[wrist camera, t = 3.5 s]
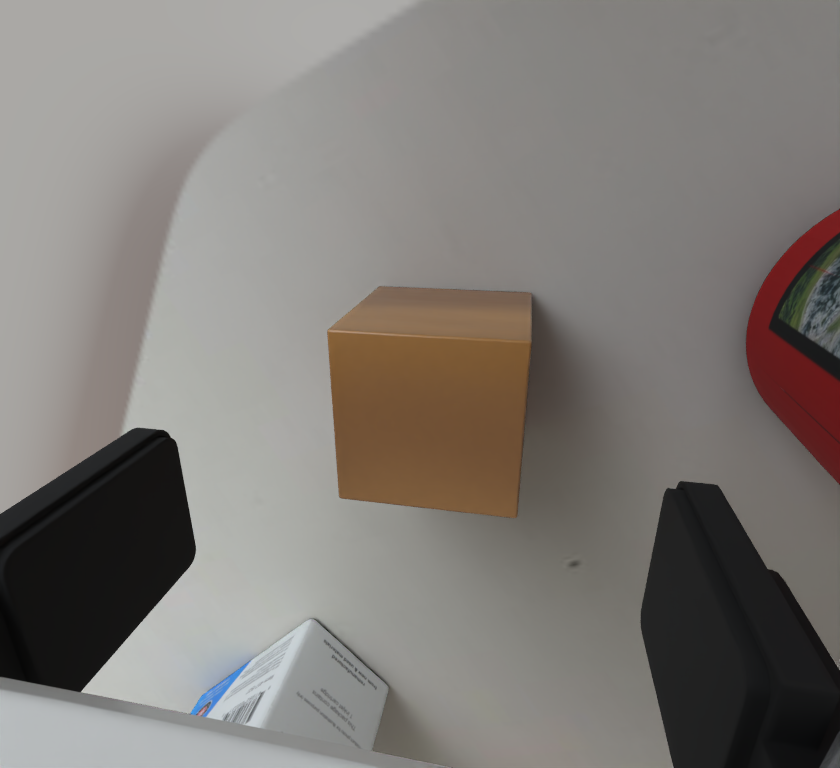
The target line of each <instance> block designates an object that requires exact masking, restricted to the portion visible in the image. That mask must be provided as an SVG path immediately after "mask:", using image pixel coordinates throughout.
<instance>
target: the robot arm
mask: <svg viewBox="0 0 840 768" xmlns="http://www.w3.org/2000/svg"><path fill="white" fill-rule="evenodd" d="M195 552H196V545H195V540H194V534H193V529H192V523H191V518H190V512H189V507H188V502H187V496H186V491H185V485H184V480H183V474H182V469H181V463H180V458H179V453H178V447H177V444H176V442H175V440H174V439H172V438H171V437H170V435H169V434H168V433H167V432H166V431H164V430H156V429H146V428H135V429H132V430H130V431H129V432H127V433H126V434H124V435H123V436H121V437H120V438H118V439H117V440H115V441H113V442H112V443H110V444H109V445H107V446H106V447H104V448H102V449H101V450H99V451H98V452H96V453H95V454H93V455H92V456H90V457H89V458H87V459H85V460H84V461H82V462H81V463H79V464H78V465H76V466H74V467H73V468H71V469H70V470H68V471H67V472H65V473H64V474H62V475H60V476H59V477H57V478H56V479H54V480H53V481H51V482H50V483H48V484H47V485H45V486H43V487H42V488H40V489H39V490H37V491H36V492H34V493H32V494H31V495H29V496H28V497H26V498H25V499H23V500H22V501H20V502H19V503H17V504H15V505H14V506H12V507H11V508H9V509H8V510H6V511H4V512H3V513H1V514H0V768H452V767H447V766H442V765H437V764H432V763H428V762H423V761H418V760H413V759H408V758H403V757H399V756H394V755H389V754H384V753H379V752H375V751H370V750H365V749H360V748H355V747H350V746H346V745H341V744H336V743H331V742H326V741H321V740H316V739H312V738H307V737H302V736H297V735H292V734H287V733H282V732H277V731H272V730H267V729H262V728H257V727H252V726H247V725H242V724H237V723H232V722H227V721H222V720H217V719H212V718H207V717H202V716H197V715H192V714H187V713H182V712H177V711H172V710H167V709H162V708H157V707H152V706H147V705H142V704H137V703H132V702H127V701H122V700H117V699H112V698H107V697H102V696H97V695H91V694H86V693H81V691H82V690H83V688H84V687H85V686H86V685H87V684H88V683H89V682H90V680H91V679H92V678H93V677H94V676H95V675H96V673H97V672H98V671H99V670H100V669H101V668H102V667H103V665H104V664H105V663H106V662H107V661H108V660H109V659H110V657H111V656H112V655H113V654H114V653H115V652H116V651H117V649H118V648H119V647H120V646H121V645H122V644H123V642H124V641H125V640H126V639H127V638H128V637H129V636H130V634H131V633H132V632H133V631H134V630H135V629H136V628H137V626H138V625H139V624H140V623H141V622H142V621H143V619H144V618H145V617H146V616H147V615H148V614H149V613H150V611H151V610H152V609H153V608H154V607H155V606H156V605H157V603H158V602H159V601H160V600H161V599H162V598H163V596H164V595H165V594H166V593H167V592H168V591H169V590H170V588H171V587H172V586H173V585H174V584H175V583H176V582H177V580H178V579H179V578H180V577H181V576H182V575H183V574H184V572H185V571H186V570H187V569H188V568H189V567H190V565H191V564H192V562H193V560H194V557H195ZM641 630H642V635H643V639H644V644H645V648H646V652H647V656H648V661H649V665H650V669H651V673H652V678H653V682H654V686H655V690H656V695H657V699H658V703H659V707H660V712H661V716H662V720H663V724H664V729H665V733H666V737H667V741H668V746H669V750H670V754H671V758H672V763H673V767H674V768H840V670H839V669H838V667H837V666H836V664H835V662H834V661H833V659H832V657H831V656H830V654H829V653H828V651H827V649H826V648H825V646H824V644H823V643H822V641H821V640H820V638H819V636H818V635H817V633H816V631H815V630H814V628H813V626H812V625H811V623H810V622H809V620H808V618H807V617H806V615H805V613H804V612H803V610H802V609H801V607H800V605H799V604H798V602H797V600H796V599H795V597H794V595H793V594H792V592H791V591H790V589H789V587H788V586H787V584H786V582H785V581H784V579H783V578H782V577H781V576H780V575H779V573H777V572H775V571H773V570H769V569H767V567H766V566H765V564H764V562H763V561H762V559H761V557H760V555H759V554H758V552H757V550H756V549H755V547H754V545H753V544H752V542H751V540H750V538H749V537H748V535H747V533H746V532H745V530H744V528H743V527H742V525H741V523H740V521H739V520H738V518H737V516H736V515H735V513H734V511H733V510H732V508H731V506H730V504H729V503H728V501H727V499H726V498H725V496H724V494H723V493H722V491H721V489H720V488H719V487H718V485H714V484H704V483H694V482H684V481H680V482H679V483H678V485H677V487H676V489H670V488H667V489H666V491H665V493H664V497H663V502H662V507H661V512H660V517H659V522H658V527H657V532H656V537H655V542H654V547H653V552H652V558H651V563H650V568H649V573H648V578H647V583H646V588H645V593H644V598H643V603H642V608H641Z"/></svg>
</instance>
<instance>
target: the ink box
mask: <svg viewBox="0 0 840 768" xmlns="http://www.w3.org/2000/svg"><path fill="white" fill-rule="evenodd" d="M388 690H389V688H388V686H387V685H386V683H384V682H383V681H382V680H381V679H380V678H379V677H377V676H376V675H375V674H374V673H373V672H372V671H371V670H370V669H369V668H367V667H366V666H365V665H364V664H363V663H362V662H361V661H360V660H359V659H358V658H357V657H355V656H354V655H353V654H352V653H351V652H350V651H349V650H348V649H347V648H346V647H344V646H343V645H342V644H341V643H340V642H339V641H338V640H337V639H336V638H334V637H333V636H332V635H331V634H330V633H329V632H328V631H327V630H325V629H324V628H323V627H322V626H321V625H320V624H319V623H318V622H317V621H316V620H314V619H309V620H307V621H305V622H304V623H303V624H301V625H300V626H298V627H297V628H295V629H294V630H293V631H291V632H290V633H289V634H287V635H286V636H285V637H283V638H282V639H280V640H279V641H278V642H276V643H275V644H273V645H272V646H271V647H269V648H268V649H266V650H265V651H264V652H262V653H261V654H259V655H258V656H256V657H255V658H254V659H252V660H251V661H249V662H248V663H247V664H245V665H244V666H242V667H241V668H240V669H238V670H237V671H236V672H234V673H233V674H231V675H230V676H229V677H227V678H226V679H224V680H223V681H222V682H220V683H219V684H217V685H216V686H215V687H213V688H212V689H210V690H209V691H208V692H206V693H205V694H203V695H202V696H201V698H200V699H199V701H198V702H197V704H196V706H195V707H194V709H193V710H192V712H191V714H192V715H197V716H202V717H207V718H212V719H217V720H222V721H227V722H232V723H237V724H242V725H247V726H252V727H257V728H262V729H267V730H272V731H277V732H282V733H287V734H292V735H297V736H302V737H307V738H312V739H316V740H321V741H326V742H331V743H336V744H341V745H346V746H350V747H355V748H360V749H365V750H370V751H372V749H373V745H374V742H375V738H376V734H377V731H378V728H379V724H380V720H381V717H382V713H383V709H384V705H385V702H386V698H387V694H388Z"/></svg>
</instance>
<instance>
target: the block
mask: <svg viewBox="0 0 840 768" xmlns="http://www.w3.org/2000/svg"><path fill="white" fill-rule="evenodd" d="M327 334H328V348H329V362H330V376H331V390H332V404H333V418H334V432H335V446H336V460H337V474H338V488H339V497H340V498H342V499H351V500H360V501H369V502H377V503H386V504H395V505H404V506H412V507H421V508H430V509H439V510H447V511H456V512H465V513H474V514H482V515H491V516H500V517H509V518H516V517H517V515H518V503H519V491H520V479H521V467H522V455H523V442H524V430H525V418H526V406H527V394H528V382H529V370H530V358H531V346H532V293H528V292H504V291H479V290H455V289H431V288H407V287H383V286H380V287H378V288H377V289H376V290H374V291H373V292H372V293H371V294H370V295H368V296H367V297H366V298H365V299H364V300H363V301H361V302H360V303H359V304H358V305H357V306H355V307H354V308H353V309H352V310H351V311H350V312H348V313H347V314H346V315H345V316H344V317H342V318H341V319H340V320H339V321H338V322H336V323H335V324H334V325H333V326H332V327H331V328H329V329H328V331H327Z"/></svg>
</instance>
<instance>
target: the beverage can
mask: <svg viewBox="0 0 840 768" xmlns="http://www.w3.org/2000/svg"><path fill="white" fill-rule="evenodd" d="M746 354H747V361H748V366H749V370H750V374H751V377H752V379H753V382H754V384H755V386H756V388H757V390H758V392H759V394H760V395H761V397H762V398H763V400H764V401H765V403H766V404H767V405H768V406H769V407H770V409H771V410H772V411H773V412H774V413H775V414H776V415H777V416H778V418H779V419H780V420H781V421H782V422H783V423H784V424H785V425H786V426H787V428H788V429H789V430H790V431H791V432H792V433H793V434H794V435H795V436H796V438H797V439H798V440H799V441H800V442H801V443H802V444H803V445H804V446H805V447H806V449H807V450H808V451H809V452H810V453H811V454H812V455H813V456H814V457H815V459H816V460H817V461H818V462H819V463H820V464H821V465H822V466H823V467H824V468H825V469H826V470H827V472H828V473H829V474H830V475H831V476H832V477H833V478H834V479H835V480H836V481H837V482H838V483H839V484H840V209H839V210H837V211H836V212H834V213H832V214H831V215H829V216H828V217H826V218H825V219H823V220H822V221H820V222H819V223H818V224H816V225H815V226H813V227H812V228H811V229H810V230H809V231H807V232H806V233H805V234H804V235H802V236H801V237H800V238H799V239H798V240H797V241H796V242H795V243H794V244H793V245H792V246H791V247H790V248H789V249H788V250H787V251H786V252H785V253H784V255H783V256H782V257H781V258H780V259H779V261H778V262H777V263H776V264H775V266H774V267H773V269H772V270H771V272H770V273H769V275H768V276H767V278H766V279H765V281H764V283H763V285H762V286H761V288H760V290H759V292H758V295H757V297H756V299H755V302H754V304H753V307H752V310H751V314H750V317H749V321H748V327H747V335H746Z"/></svg>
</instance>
